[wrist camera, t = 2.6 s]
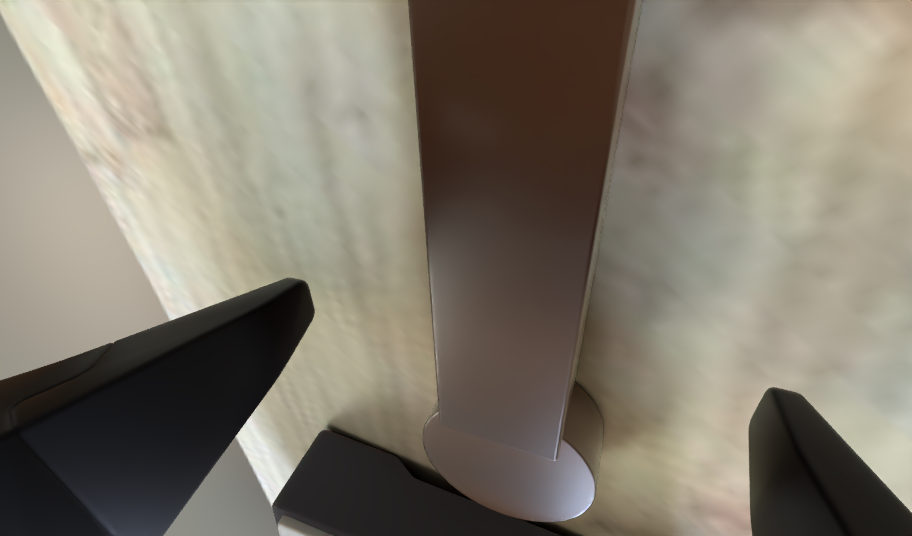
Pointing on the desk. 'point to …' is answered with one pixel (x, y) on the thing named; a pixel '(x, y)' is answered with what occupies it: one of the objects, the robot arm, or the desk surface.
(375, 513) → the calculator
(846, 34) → the desk surface
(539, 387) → the spoon
